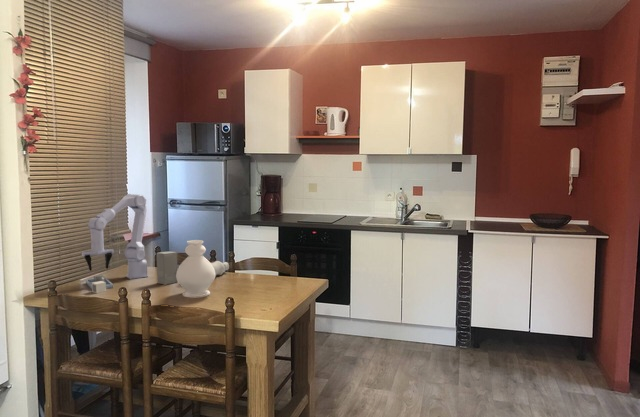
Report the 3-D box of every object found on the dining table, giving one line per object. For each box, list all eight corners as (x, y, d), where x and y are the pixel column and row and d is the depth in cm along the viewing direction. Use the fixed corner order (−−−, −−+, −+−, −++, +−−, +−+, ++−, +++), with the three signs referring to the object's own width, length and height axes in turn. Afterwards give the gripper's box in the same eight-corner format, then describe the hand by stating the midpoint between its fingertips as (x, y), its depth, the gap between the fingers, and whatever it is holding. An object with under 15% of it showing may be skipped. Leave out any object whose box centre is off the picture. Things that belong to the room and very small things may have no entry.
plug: (92, 282, 259) (92, 275, 258) (101, 281, 261) (100, 274, 261) (97, 288, 249) (97, 279, 248) (106, 286, 251) (106, 278, 251)
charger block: (101, 290, 247) (101, 280, 247) (106, 291, 245) (105, 282, 244) (91, 292, 244) (91, 282, 243) (96, 293, 241) (96, 284, 241)
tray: (85, 283, 260) (85, 279, 260) (105, 280, 265) (104, 277, 265) (92, 290, 246) (92, 286, 246) (113, 287, 251) (113, 284, 251)
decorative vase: (197, 301, 228) (196, 245, 226) (168, 295, 237) (166, 242, 235) (223, 292, 244) (222, 240, 241) (195, 287, 253) (194, 237, 250)
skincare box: (164, 285, 256) (164, 254, 255) (156, 283, 261) (155, 252, 259) (178, 282, 263) (178, 251, 262) (170, 280, 267) (169, 250, 266)
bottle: (200, 279, 256) (235, 269, 283) (192, 263, 257) (227, 255, 284) (188, 287, 259) (223, 277, 286) (180, 271, 261) (216, 262, 288)
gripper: (83, 244, 246) (84, 272, 247) (114, 241, 254) (116, 268, 256) (80, 242, 252) (81, 269, 253) (111, 239, 260) (112, 266, 261)
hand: (98, 269), depth 255 cm, fingers open, 7 cm apart
